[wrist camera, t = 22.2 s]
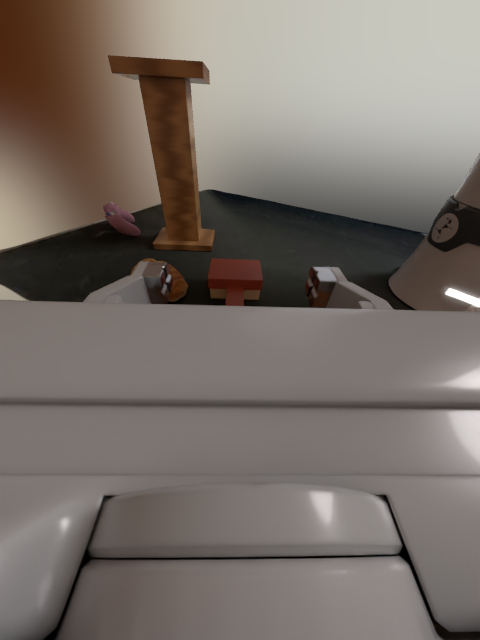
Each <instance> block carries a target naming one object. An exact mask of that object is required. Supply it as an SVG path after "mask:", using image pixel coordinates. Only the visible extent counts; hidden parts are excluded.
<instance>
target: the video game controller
mask: <svg viewBox="0 0 480 640" xmlns="http://www.w3.org/2000/svg"><path fill="white" fill-rule="evenodd" d="M103 208H104V211H105V213H106V216H105V217H106V219H107V220H108V222H109V223H110V224H111V225H112V226H113V227H114V228H115V229H116V230H117V231H118V232H121V233H122V234H127V235H130V236H134V237H137V236H139V235H140V230H139V229H138V228H137V227H136V226H135V225H133V224H132V223H134V221H135V219H134V217H133V216H132V215H131V214H130V213H128V212H126V211H124V210H122V209H121V208H119V207H118V206H117V205H115V204H113V203H112V202H111V203H110V204H106V205H105V206H104V207H103Z"/></svg>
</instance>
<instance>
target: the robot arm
mask: <svg viewBox="0 0 480 640" xmlns="http://www.w3.org/2000/svg"><path fill="white" fill-rule="evenodd" d="M169 272H170V266H169V264H168V262H149V261H141V262H139V264H138V265H137V267H136V268H135V270H134V271H133V273H132V274H131V276H126V277H124V278H122V279H120V280H118V281H116V282H114V283H111V284H109V285H107V286H105V287H103V288H101V289H99V290H96V291H94V292H92V293H90V294H89V295H88V296H87V298H86V299H85V300H84V301H83V302H51V301H15V300H0V640H480V153H479V155H478V157H477V159H476V161H475V162H474V164H473V166H472V168H471V169H470V171H469V173H468V174H467V176H466V178H465V179H464V181H463V182H462V184H461V186H460V187H459V189H458V190H457V192H456V194H455V195H453V196H451V197H449V199H448V200H447V202H446V203H445V205H444V206H443V208H442V209H441V211H440V212H439V214H438V215H437V217H436V218H435V220H434V223H433V225H432V227H431V230H430V232H429V233H428V235H427V236H426V237H425V238H424V239H423V241H422V242H421V243H420V244H419V246H418V247H417V248H416V250H415V251H414V252H413V253H412V255H411V256H410V257H409V258H408V259H407V261H406V262H405V263H403V264H402V266H401V267H400V268H399V269H398V270H397V271H396V272H395V273H394V274H393V275H392V276H391V277H390V279H389V287H390V289H391V290H392V292H393V293H394V294H395V295H396V296H397V297H398V298H399V299H401V300H402V301H403V302H404V303H406V304H407V305H409V306H411V307H412V308H414V309H416V310H394V309H393V308H392V307H391V306H390V304H389V303H388V302H387V301H386V300H384V299H382V298H380V297H378V296H376V295H374V294H372V293H370V292H369V291H367V290H365V289H363V288H361V287H359V286H357V285H355V284H353V283H351V282H348V281H347V280H346V278H345V276H344V275H343V273H342V272H341V270H340V269H339V268H338V267H311V269H310V271H309V276H310V278H309V279H308V280H307V281H306V286H305V292H306V295H307V296H308V297H309V300H308V301H309V303H310V306H311V308H298V307H257V306H216V305H176V304H167V302H168V300H169V293H171V291H172V287H173V281H172V276H171V275H170V274H169Z"/></svg>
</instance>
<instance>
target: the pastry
mask: <svg viewBox="0 0 480 640" xmlns="http://www.w3.org/2000/svg"><path fill="white" fill-rule="evenodd" d="M141 261H149V262H157V261H155V260H154V259H144V260H141ZM141 261H140V262H141ZM158 262H164V261H158ZM138 264H139V263H138ZM138 264H137V265H138ZM137 265H136V266H134V268H133V269H132V272H131V274H132V273H133V271H134V270H135V268H136V267H137ZM169 266H170V272H169V274H170V275H171V276H172V281H173V287H172V291H171V293H169V300H168V301H171V302H175V301H177V300H179V299H180V298H182V297H184V296H185V294H186V292H187V288H188V284H187V283H186V282H185V280H184V277H183V276H181V274H180V273H179V271H177V270H176V269H175V268H174V267H172V266H171V265H170V264H169ZM130 276H131V275H130Z"/></svg>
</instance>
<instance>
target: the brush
mask: <svg viewBox="0 0 480 640" xmlns="http://www.w3.org/2000/svg"><path fill="white" fill-rule="evenodd" d="M262 282H263V279H262V272H261V265H260V260H238V259H211V263H210V269H209V275H208V288H209V289H210V298H217V299H226V306H244V299H249V300H259V293H260V290H262Z"/></svg>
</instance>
